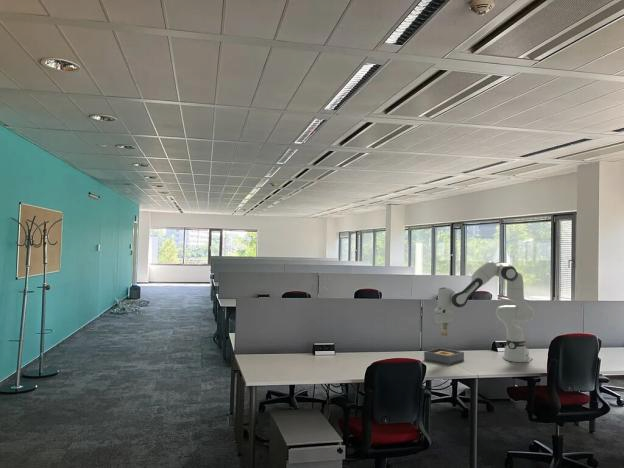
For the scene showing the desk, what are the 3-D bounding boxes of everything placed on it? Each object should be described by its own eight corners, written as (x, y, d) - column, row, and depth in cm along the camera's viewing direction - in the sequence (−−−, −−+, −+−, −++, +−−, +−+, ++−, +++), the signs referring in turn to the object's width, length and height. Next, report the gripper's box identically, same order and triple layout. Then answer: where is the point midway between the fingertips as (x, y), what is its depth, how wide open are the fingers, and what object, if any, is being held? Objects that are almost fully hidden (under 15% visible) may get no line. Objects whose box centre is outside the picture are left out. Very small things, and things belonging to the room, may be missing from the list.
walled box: (439, 355, 344) (439, 347, 344) (464, 360, 330) (463, 352, 330) (424, 360, 330) (424, 351, 330) (449, 365, 316) (449, 356, 316)
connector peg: (443, 334, 333) (443, 321, 333) (448, 335, 330) (448, 322, 330) (440, 335, 330) (440, 322, 330) (445, 335, 327) (445, 322, 328)
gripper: (447, 308, 341) (447, 327, 340) (432, 310, 326) (432, 330, 325) (455, 309, 336) (455, 328, 335) (440, 311, 322) (440, 331, 321)
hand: (444, 329), depth 330 cm, fingers closed on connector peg, 4 cm apart
